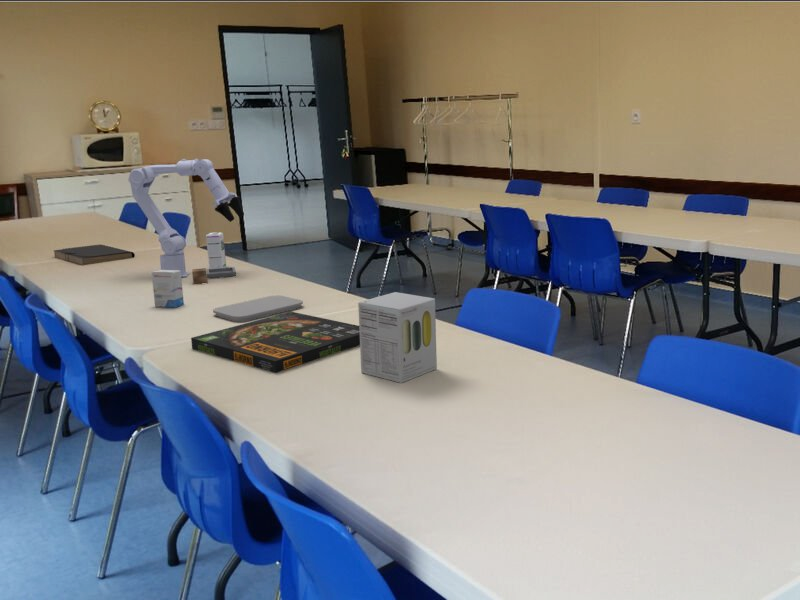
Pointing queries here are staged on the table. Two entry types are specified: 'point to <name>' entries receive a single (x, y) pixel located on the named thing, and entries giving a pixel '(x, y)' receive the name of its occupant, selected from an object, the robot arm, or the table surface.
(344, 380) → the table surface
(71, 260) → the file folder
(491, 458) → the table surface
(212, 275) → the grey dish
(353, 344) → the pizza box
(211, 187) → the robot arm
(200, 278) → the walnut cube
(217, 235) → the syrup box
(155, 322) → the table surface
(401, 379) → the supplement box
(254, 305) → the tablet
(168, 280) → the ink box
